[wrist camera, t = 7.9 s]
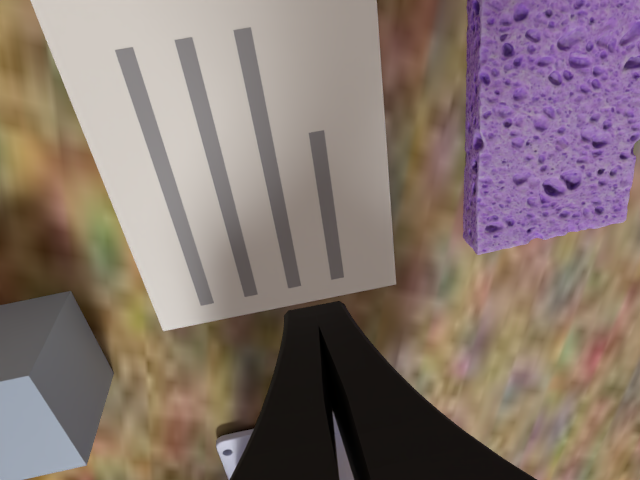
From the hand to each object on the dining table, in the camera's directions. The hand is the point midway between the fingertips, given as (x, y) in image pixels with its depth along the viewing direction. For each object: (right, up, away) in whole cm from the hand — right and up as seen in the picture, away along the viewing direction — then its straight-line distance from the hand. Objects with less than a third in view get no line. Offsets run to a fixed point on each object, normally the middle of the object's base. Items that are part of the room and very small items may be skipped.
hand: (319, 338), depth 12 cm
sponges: (+9, +9, +8) cm, 15 cm away
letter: (-3, +6, +7) cm, 9 cm away
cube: (-13, -2, +10) cm, 16 cm away
